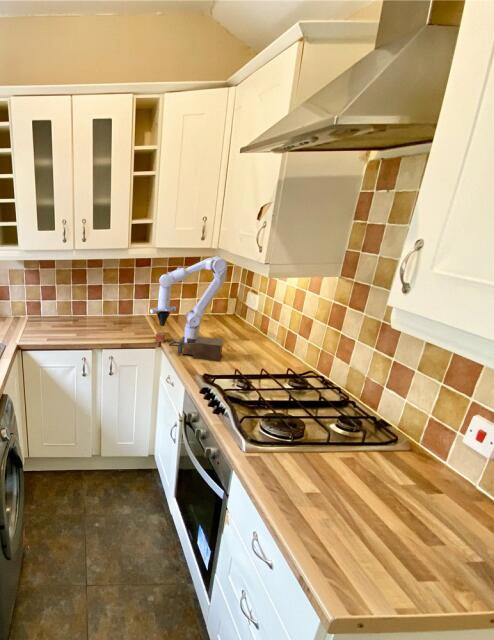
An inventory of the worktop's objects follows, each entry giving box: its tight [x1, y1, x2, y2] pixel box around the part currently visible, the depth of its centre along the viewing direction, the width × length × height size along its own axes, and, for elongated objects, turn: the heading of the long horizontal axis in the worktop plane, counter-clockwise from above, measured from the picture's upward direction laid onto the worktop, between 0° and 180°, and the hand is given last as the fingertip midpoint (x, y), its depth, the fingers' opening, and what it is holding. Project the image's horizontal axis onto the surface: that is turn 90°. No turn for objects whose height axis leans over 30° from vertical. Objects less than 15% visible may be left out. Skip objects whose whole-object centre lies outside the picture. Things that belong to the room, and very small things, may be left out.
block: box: [154, 331, 166, 343], centre depth 214 cm, size 4×4×4 cm
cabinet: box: [192, 336, 224, 362], centre depth 192 cm, size 12×11×8 cm
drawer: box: [168, 336, 196, 356], centre depth 195 cm, size 15×9×6 cm, turn 66°
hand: (162, 325), depth 210 cm, fingers closed
